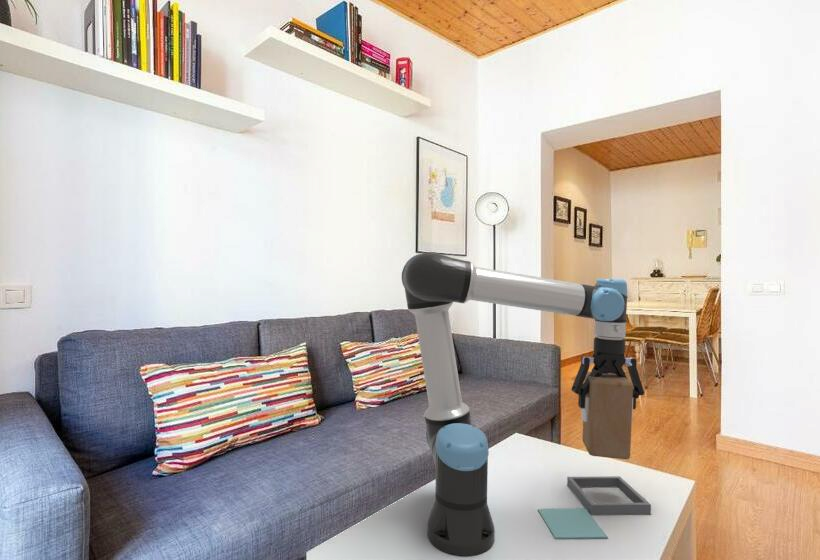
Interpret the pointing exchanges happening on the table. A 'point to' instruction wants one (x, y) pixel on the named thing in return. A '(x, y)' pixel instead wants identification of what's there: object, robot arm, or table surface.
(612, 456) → the wooden block
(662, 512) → the table surface
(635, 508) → the gray square frame
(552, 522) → the board
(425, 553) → the table surface
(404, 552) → the table surface
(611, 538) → the table surface
